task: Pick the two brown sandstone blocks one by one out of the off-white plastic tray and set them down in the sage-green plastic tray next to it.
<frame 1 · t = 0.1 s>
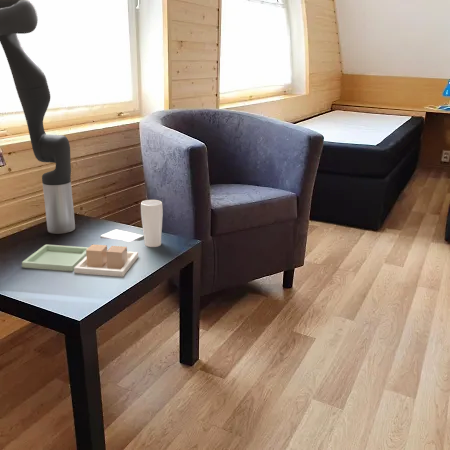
external hard drive: (122, 240, 161), on the table
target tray: (58, 262, 141), on the table
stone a: (97, 263, 138), point 1 cm above the table, touching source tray
tan block: (117, 265, 137), point 1 cm above the table, touching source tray
drinking glass: (152, 247, 154), on the table
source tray: (107, 267, 138), on the table
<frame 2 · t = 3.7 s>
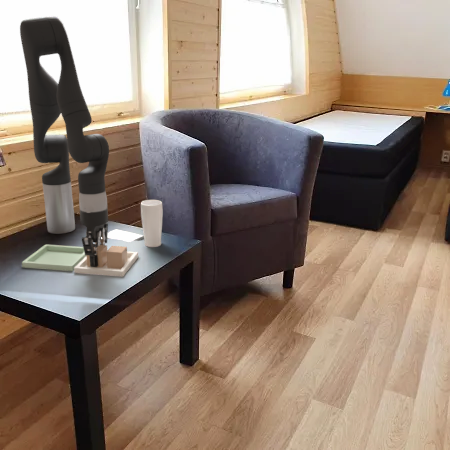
hand: (97, 262, 138), 1 cm above the table, tool pointing down, fingers closed on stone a, 4 cm apart
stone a: (97, 263, 138), point 1 cm above the table, touching gripper, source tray
everything else where it was.
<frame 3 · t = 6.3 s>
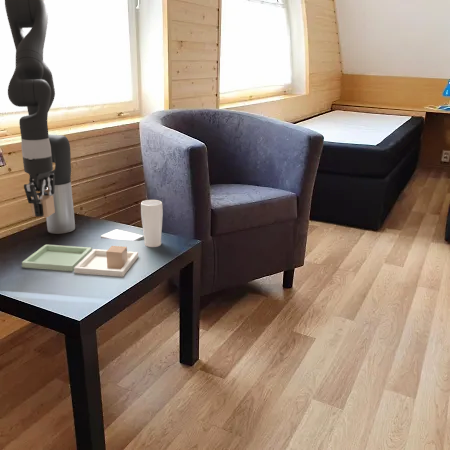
hand: (43, 213, 136), 15 cm above the table, tool pointing down, fingers closed on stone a, 4 cm apart
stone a: (43, 214, 136), point 15 cm above the table, touching gripper
everything else where it was.
when the fingers open (3 cm above the table, at t = 9.1 s): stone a drops 1 cm, resting on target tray.
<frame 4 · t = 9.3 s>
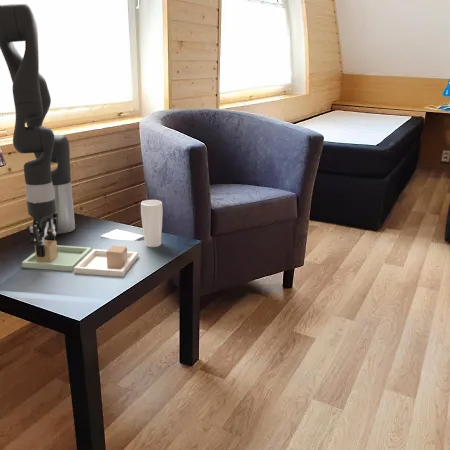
hand: (46, 252, 140), 3 cm above the table, tool pointing down, fingers open, 6 cm apart
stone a: (47, 258, 141), point 1 cm above the table, touching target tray
everything else where it was.
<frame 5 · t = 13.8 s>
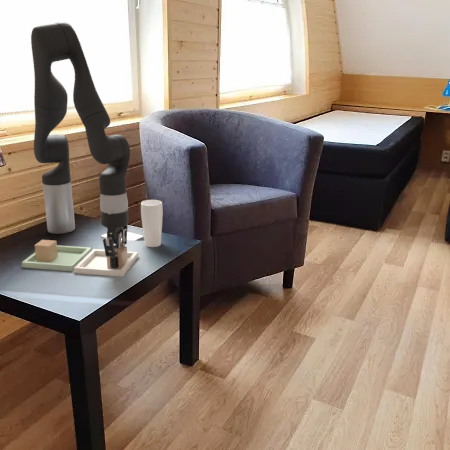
hand: (117, 264, 137), 1 cm above the table, tool pointing down, fingers closed on tan block, 4 cm apart
tan block: (117, 265, 137), point 1 cm above the table, touching gripper, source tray
everything else where it was.
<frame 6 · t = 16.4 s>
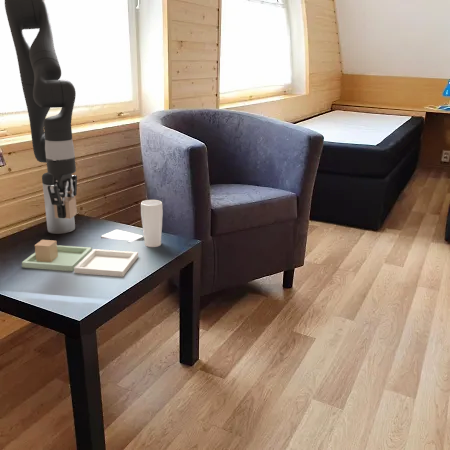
hand: (66, 214, 135), 15 cm above the table, tool pointing down, fingers closed on tan block, 4 cm apart
tan block: (66, 215, 135), point 15 cm above the table, touching gripper
everything else where it was.
when the fingers open (3 cm above the table, at t = 19.1 s): tan block drops 1 cm, resting on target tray.
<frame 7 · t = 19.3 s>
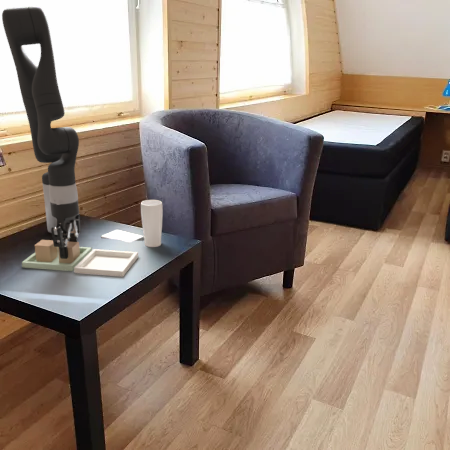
hand: (69, 253, 139), 3 cm above the table, tool pointing down, fingers open, 6 cm apart
tan block: (69, 260, 140), point 1 cm above the table, touching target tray
everything else where it was.
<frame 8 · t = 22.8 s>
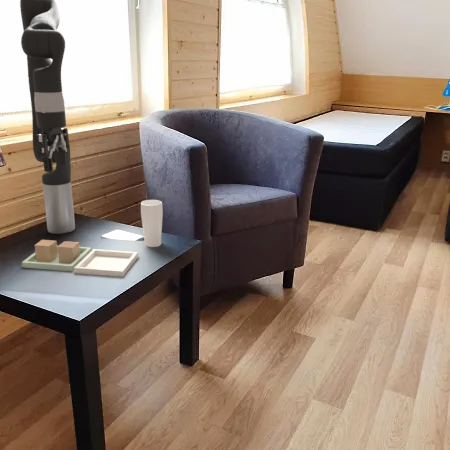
hand: (56, 168, 133), 28 cm above the table, tool pointing down, fingers open, 8 cm apart
nothing on the table moved.
at the end: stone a inside the target area on the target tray (3.5 cm from its centre), point 1.0 cm above the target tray's base; tan block inside the target area on the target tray (3.5 cm from its centre), point 1.0 cm above the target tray's base; the gripper is holding nothing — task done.
